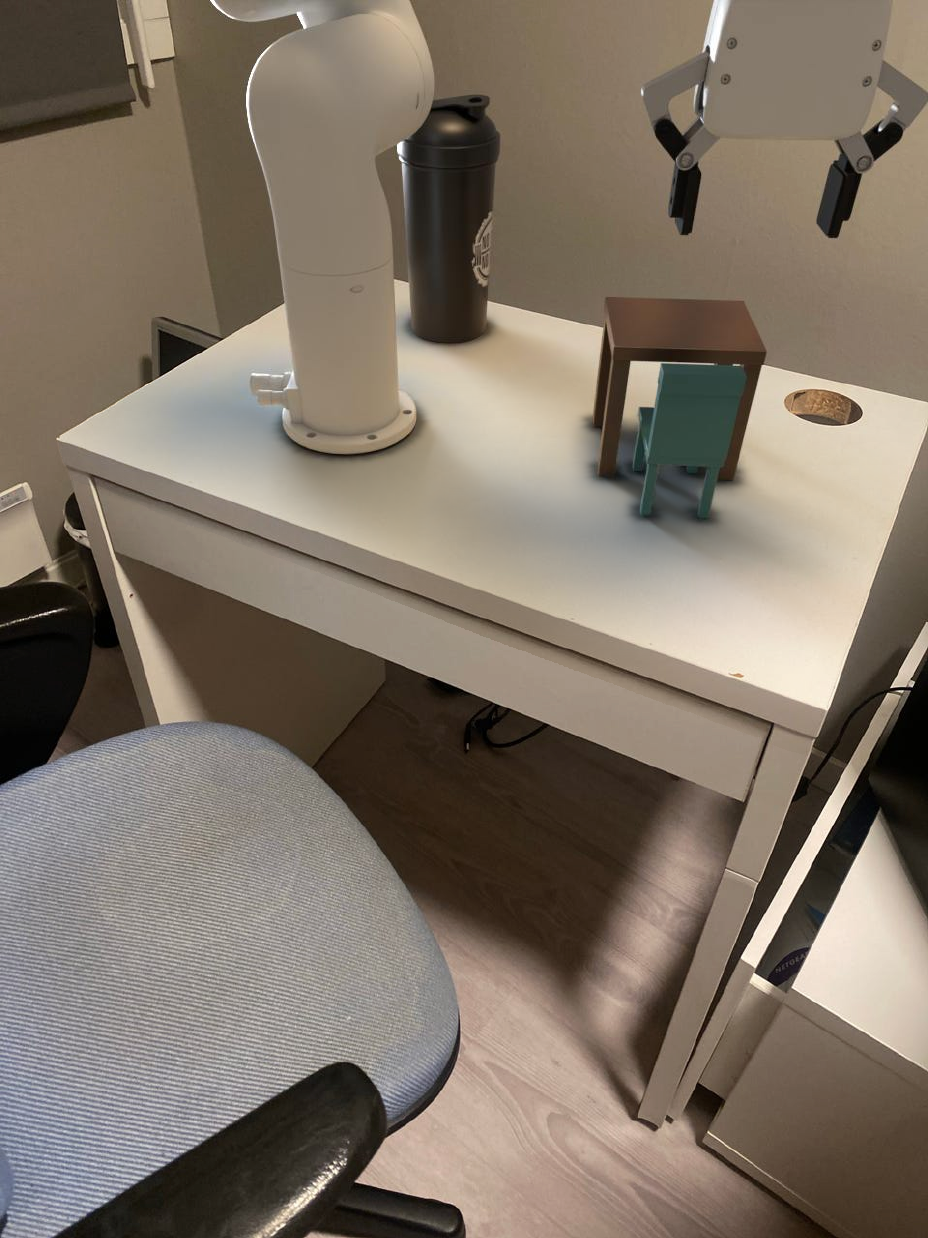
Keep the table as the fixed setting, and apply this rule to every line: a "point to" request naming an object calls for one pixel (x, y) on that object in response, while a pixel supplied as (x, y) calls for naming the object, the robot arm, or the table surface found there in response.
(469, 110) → the water bottle
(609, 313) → the side table
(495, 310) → the table surface
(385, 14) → the robot arm
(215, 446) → the table surface
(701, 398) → the chair
